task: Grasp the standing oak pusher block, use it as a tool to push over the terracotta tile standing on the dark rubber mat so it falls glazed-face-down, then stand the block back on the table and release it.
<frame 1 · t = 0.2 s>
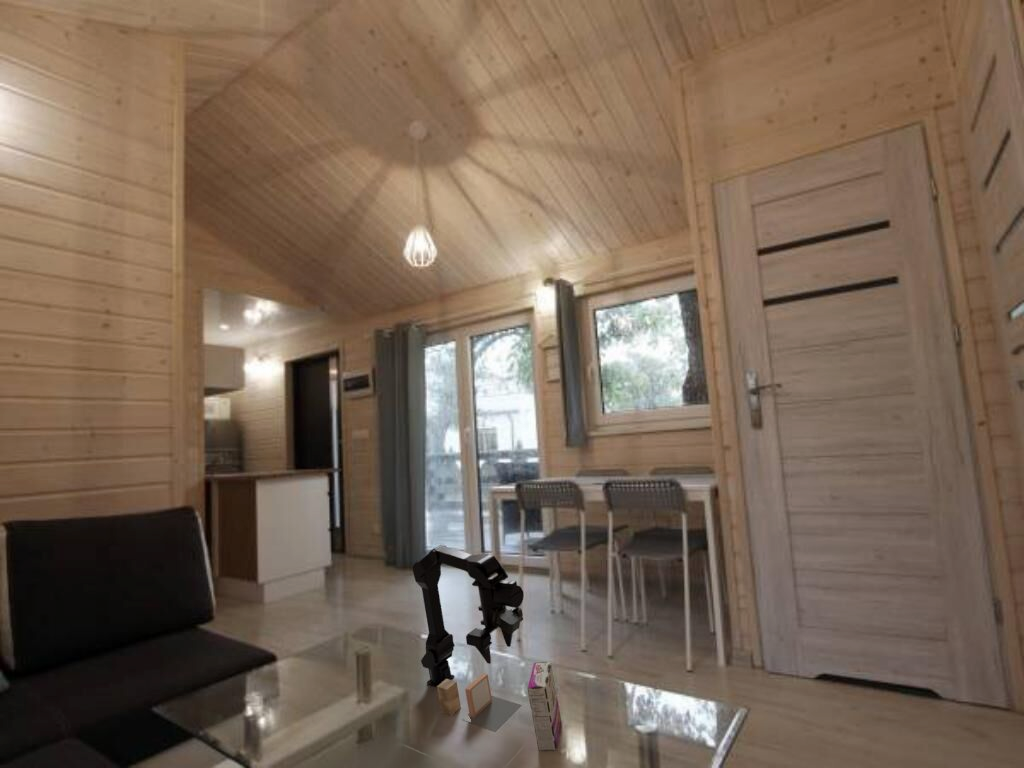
hand: (499, 654, 156), 14 cm above the table, fingers open, 9 cm apart
terracotta tile: (481, 708, 156), resting on rubber mat
candy bar box: (549, 736, 140), on the table
rubber mat: (492, 713, 153), on the table
oak pusher block: (451, 711, 157), on the table
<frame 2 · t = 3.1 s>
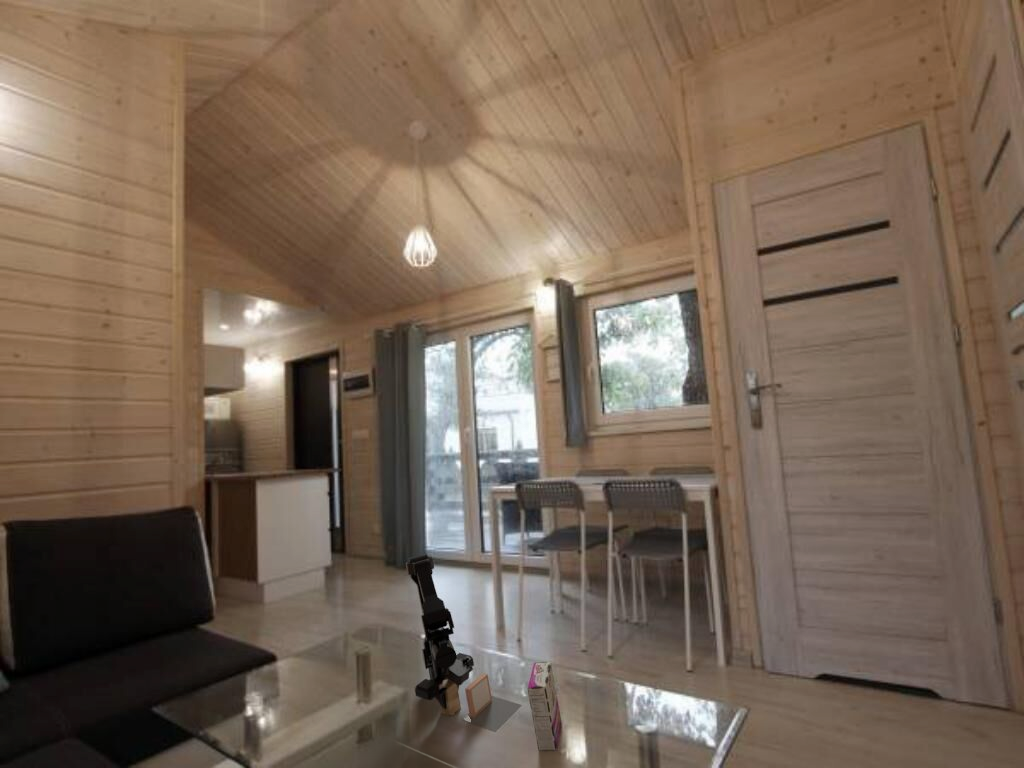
hand: (450, 704, 157), 2 cm above the table, fingers closed on oak pusher block, 4 cm apart
oak pusher block: (451, 711, 157), on the table, touching gripper
everything else where it was.
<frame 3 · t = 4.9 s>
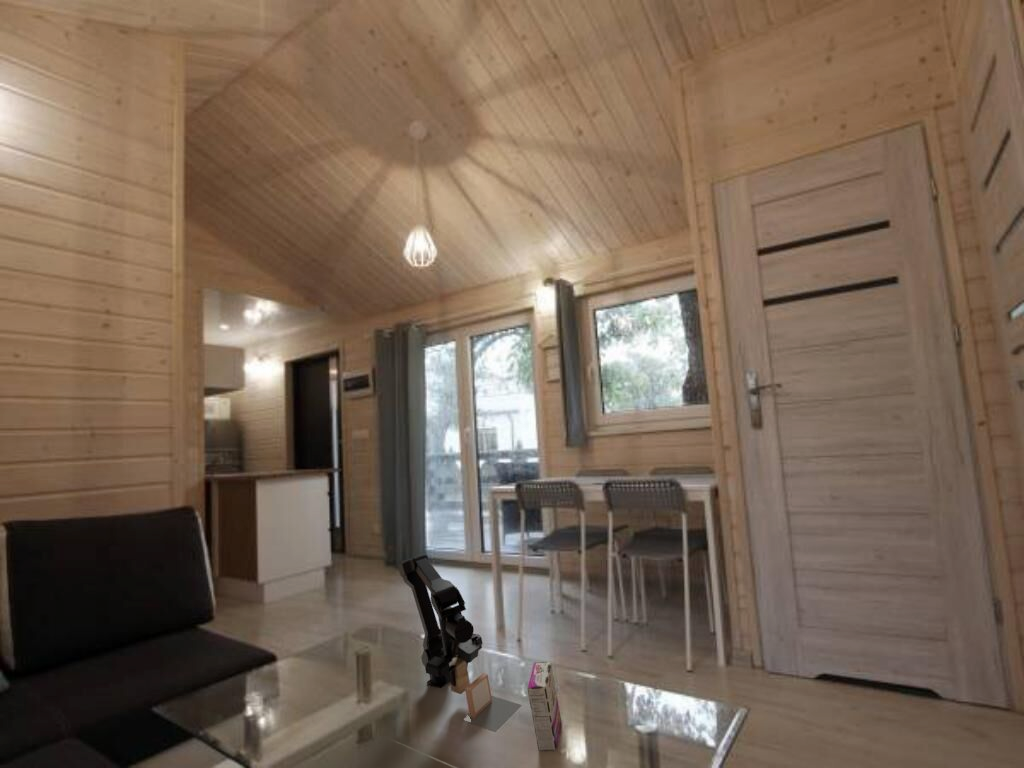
hand: (459, 681, 160), 6 cm above the table, fingers closed on oak pusher block, 4 cm apart
oak pusher block: (460, 688, 160), point 4 cm above the table, touching gripper
everything else where it was.
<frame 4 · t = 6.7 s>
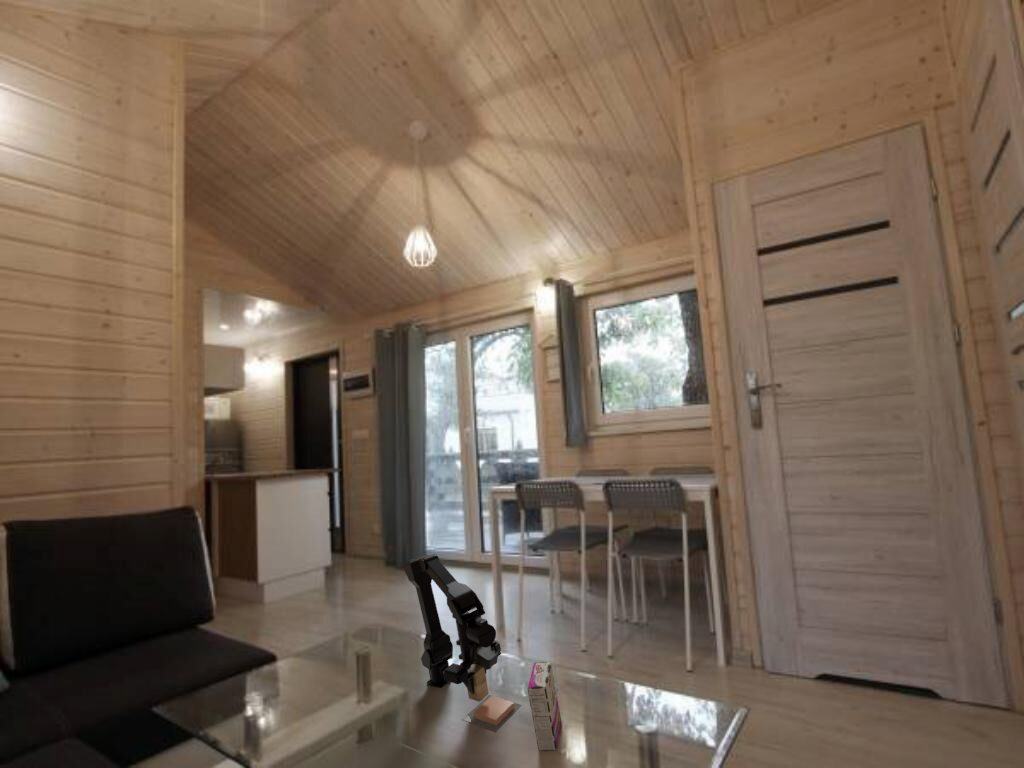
hand: (477, 689, 156), 6 cm above the table, fingers closed on oak pusher block, 4 cm apart
terracotta tile: (483, 706, 155), point 1 cm above the table, tilted 90°, touching rubber mat
oak pusher block: (478, 696, 156), point 4 cm above the table, touching gripper
everything else where it was.
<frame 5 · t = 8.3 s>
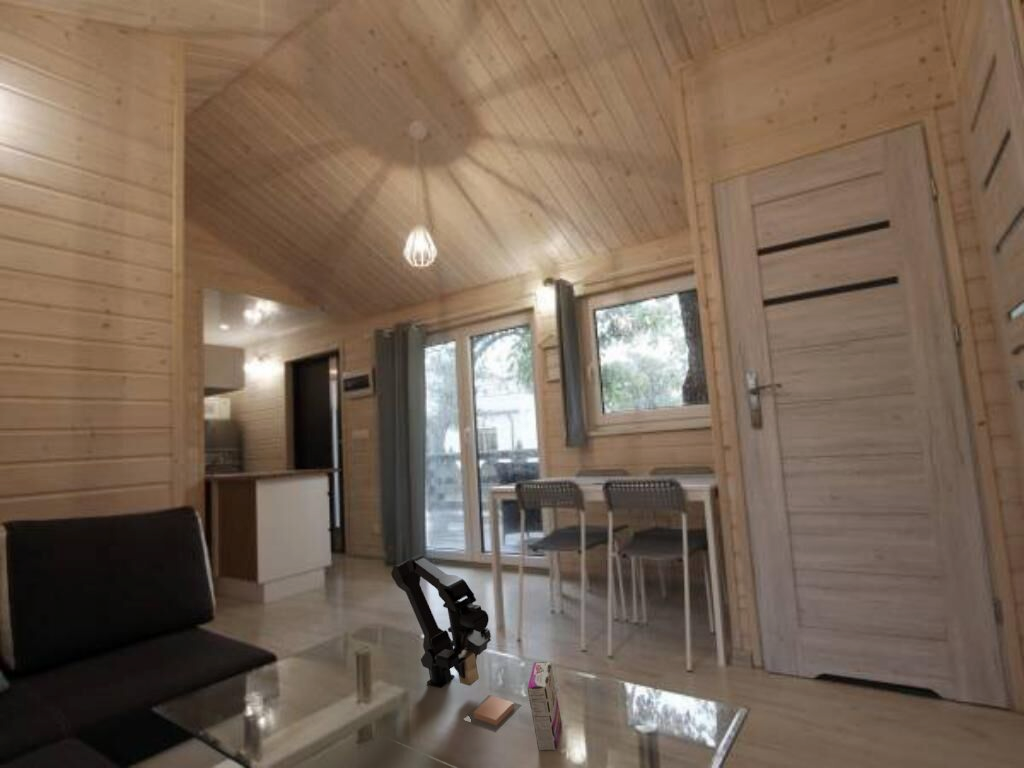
hand: (468, 674, 163), 7 cm above the table, fingers closed on oak pusher block, 4 cm apart
oak pusher block: (469, 680, 163), point 5 cm above the table, touching gripper
everything else where it was.
when the fingers open (3 cm above the table, at t = 9.6 s): oak pusher block drops 1 cm, on the table.
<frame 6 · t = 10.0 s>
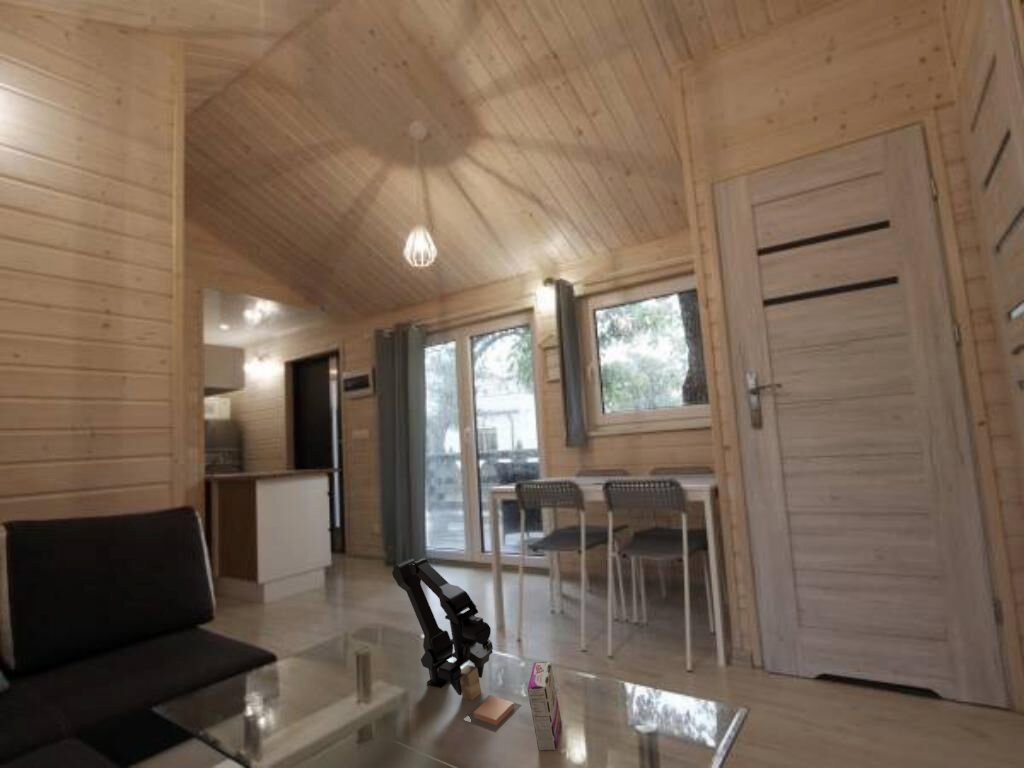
hand: (470, 685, 163), 3 cm above the table, fingers open, 9 cm apart
oak pusher block: (472, 695, 163), on the table
everything else where it was.
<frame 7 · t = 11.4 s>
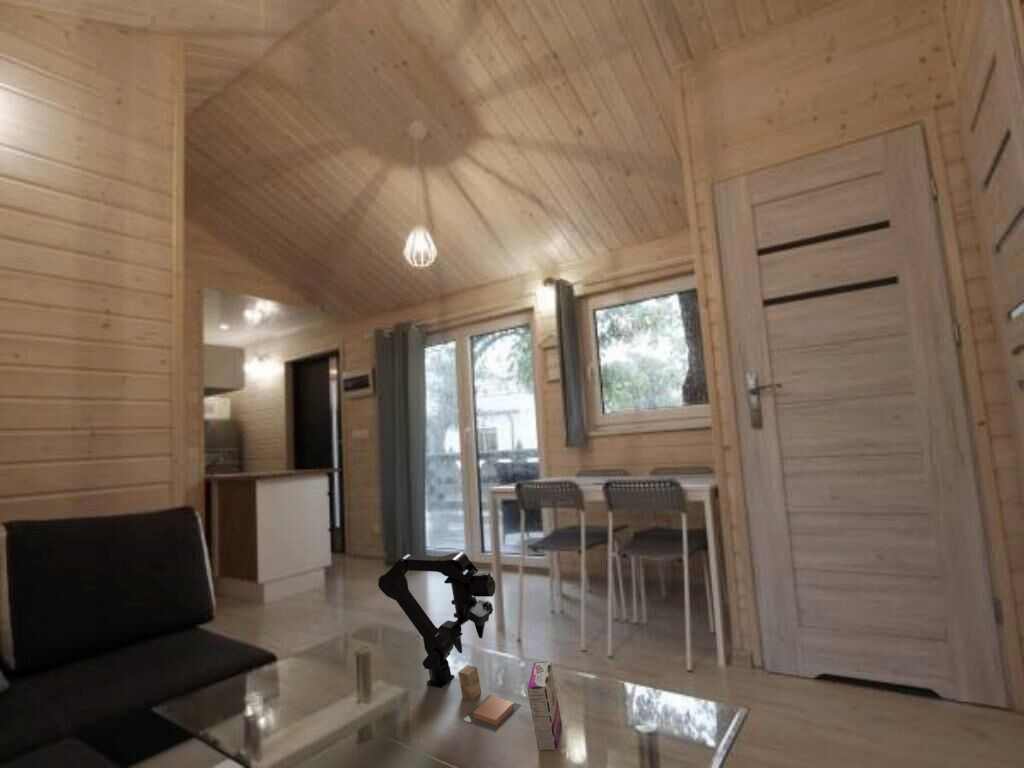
hand: (470, 645, 169), 12 cm above the table, fingers open, 9 cm apart
nothing on the table moved.
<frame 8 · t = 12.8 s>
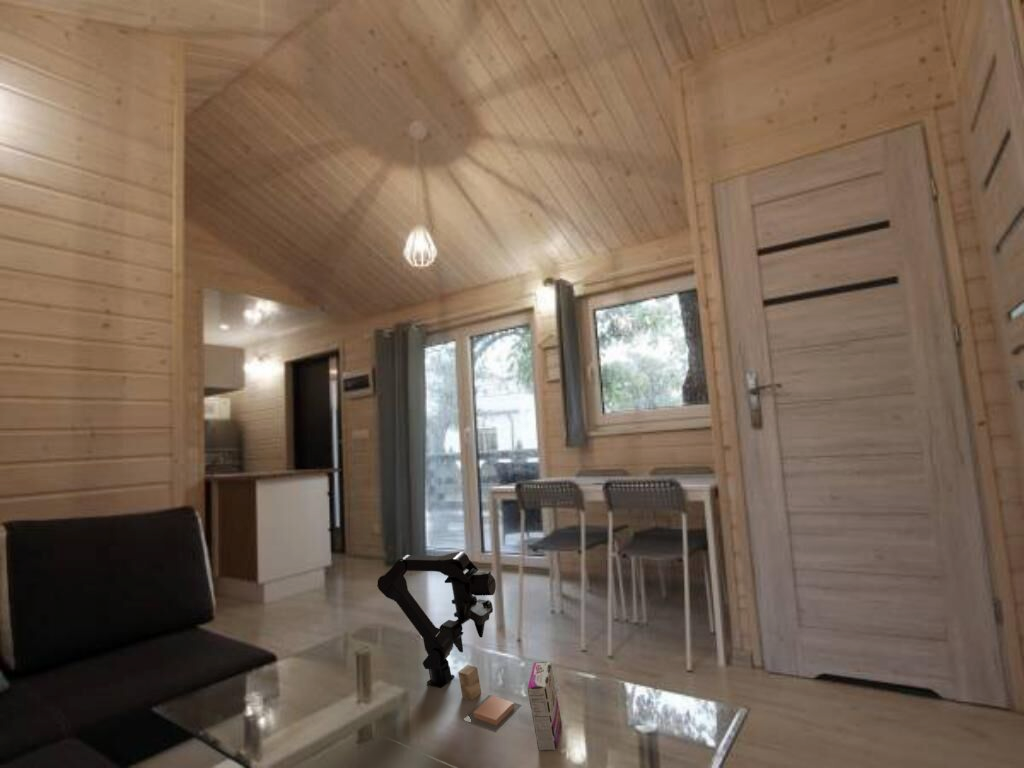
hand: (471, 644, 169), 12 cm above the table, fingers open, 9 cm apart
nothing on the table moved.
at the end: terracotta tile tilted 90°; terracotta tile inside the target area on the rubber mat (3.1 cm from its centre), point 1.1 cm above the rubber mat's base; the gripper is holding nothing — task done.
